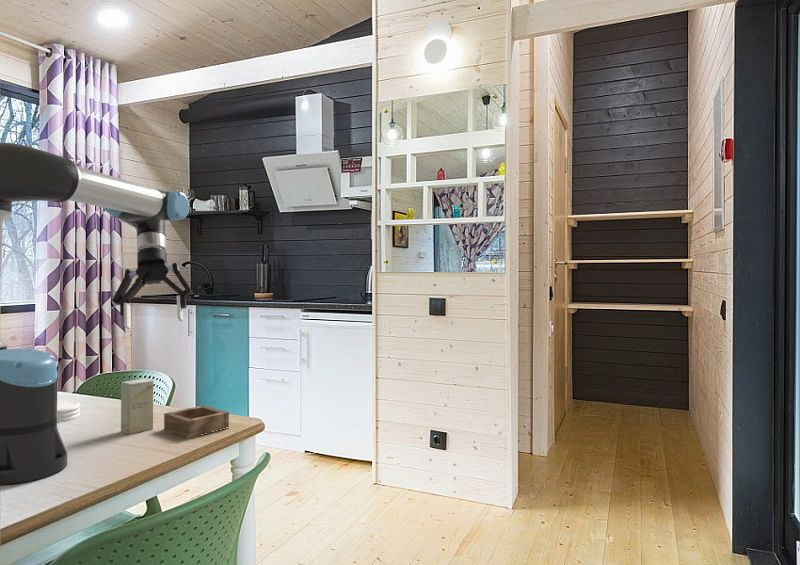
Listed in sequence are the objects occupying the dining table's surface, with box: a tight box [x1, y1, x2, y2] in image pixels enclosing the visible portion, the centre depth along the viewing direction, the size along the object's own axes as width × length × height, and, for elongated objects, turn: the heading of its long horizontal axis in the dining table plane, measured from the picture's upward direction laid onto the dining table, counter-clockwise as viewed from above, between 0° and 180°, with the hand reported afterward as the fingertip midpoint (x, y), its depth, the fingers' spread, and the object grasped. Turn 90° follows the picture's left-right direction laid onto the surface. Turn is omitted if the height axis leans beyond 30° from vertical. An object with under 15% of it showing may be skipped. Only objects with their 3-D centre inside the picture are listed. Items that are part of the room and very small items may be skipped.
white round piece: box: [57, 401, 81, 423], centre depth 150 cm, size 10×10×4 cm
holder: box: [163, 404, 230, 439], centre depth 142 cm, size 11×11×4 cm
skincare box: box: [120, 378, 154, 435], centre depth 140 cm, size 6×4×12 cm
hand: (154, 323), depth 152 cm, fingers open, 13 cm apart
